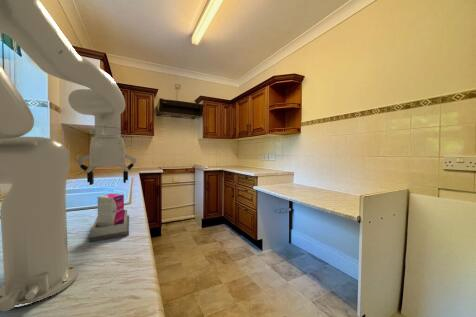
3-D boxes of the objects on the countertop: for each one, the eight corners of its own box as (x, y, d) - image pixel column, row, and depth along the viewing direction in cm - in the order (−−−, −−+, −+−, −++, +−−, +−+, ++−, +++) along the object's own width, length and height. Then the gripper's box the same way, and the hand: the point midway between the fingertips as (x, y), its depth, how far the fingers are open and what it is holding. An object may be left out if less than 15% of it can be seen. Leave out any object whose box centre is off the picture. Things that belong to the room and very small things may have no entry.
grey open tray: (128, 235, 68) (128, 213, 68) (88, 242, 63) (88, 218, 62) (129, 218, 84) (128, 201, 83) (97, 223, 79) (96, 204, 78)
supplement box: (112, 231, 67) (111, 197, 67) (97, 230, 68) (96, 197, 68) (125, 225, 73) (124, 193, 72) (110, 224, 74) (109, 193, 73)
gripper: (73, 131, 61) (74, 186, 62) (136, 134, 70) (137, 183, 70) (79, 133, 68) (79, 183, 68) (136, 135, 76) (136, 180, 77)
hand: (108, 183), depth 69 cm, fingers open, 9 cm apart
